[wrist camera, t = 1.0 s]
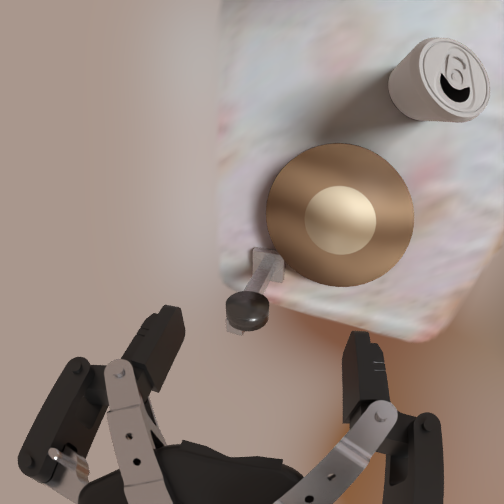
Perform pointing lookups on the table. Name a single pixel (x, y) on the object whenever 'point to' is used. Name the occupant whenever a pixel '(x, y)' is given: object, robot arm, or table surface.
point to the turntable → (340, 215)
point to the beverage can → (440, 82)
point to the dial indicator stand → (254, 293)
